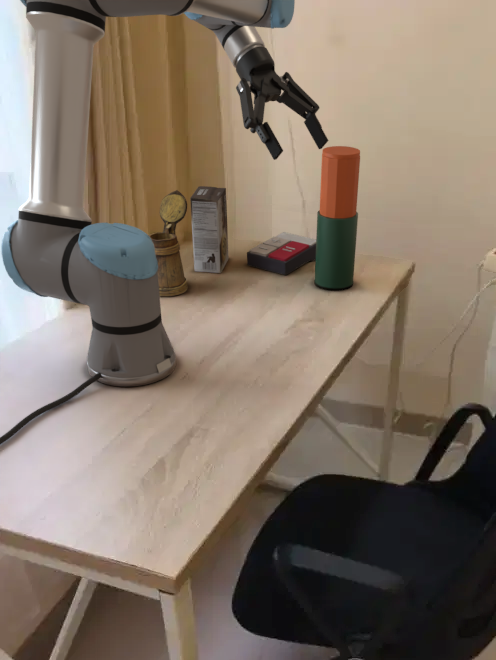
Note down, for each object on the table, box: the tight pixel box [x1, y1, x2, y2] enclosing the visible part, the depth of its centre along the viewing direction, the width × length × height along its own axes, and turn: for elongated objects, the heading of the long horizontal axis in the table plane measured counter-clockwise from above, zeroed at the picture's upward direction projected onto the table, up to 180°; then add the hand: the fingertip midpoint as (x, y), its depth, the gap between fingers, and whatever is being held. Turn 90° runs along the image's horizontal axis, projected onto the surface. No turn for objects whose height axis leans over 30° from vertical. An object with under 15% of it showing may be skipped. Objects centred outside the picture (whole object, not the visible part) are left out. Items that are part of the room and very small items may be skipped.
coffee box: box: [189, 185, 230, 274], centre depth 166 cm, size 9×6×16 cm
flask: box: [313, 209, 359, 292], centre depth 158 cm, size 9×9×18 cm
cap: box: [319, 145, 361, 219], centre depth 150 cm, size 7×7×12 cm
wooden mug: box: [147, 189, 189, 297], centre depth 156 cm, size 9×14×18 cm, turn 163°
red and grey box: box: [246, 231, 316, 276], centre depth 173 cm, size 11×4×15 cm
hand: (301, 150), depth 153 cm, fingers open, 13 cm apart
